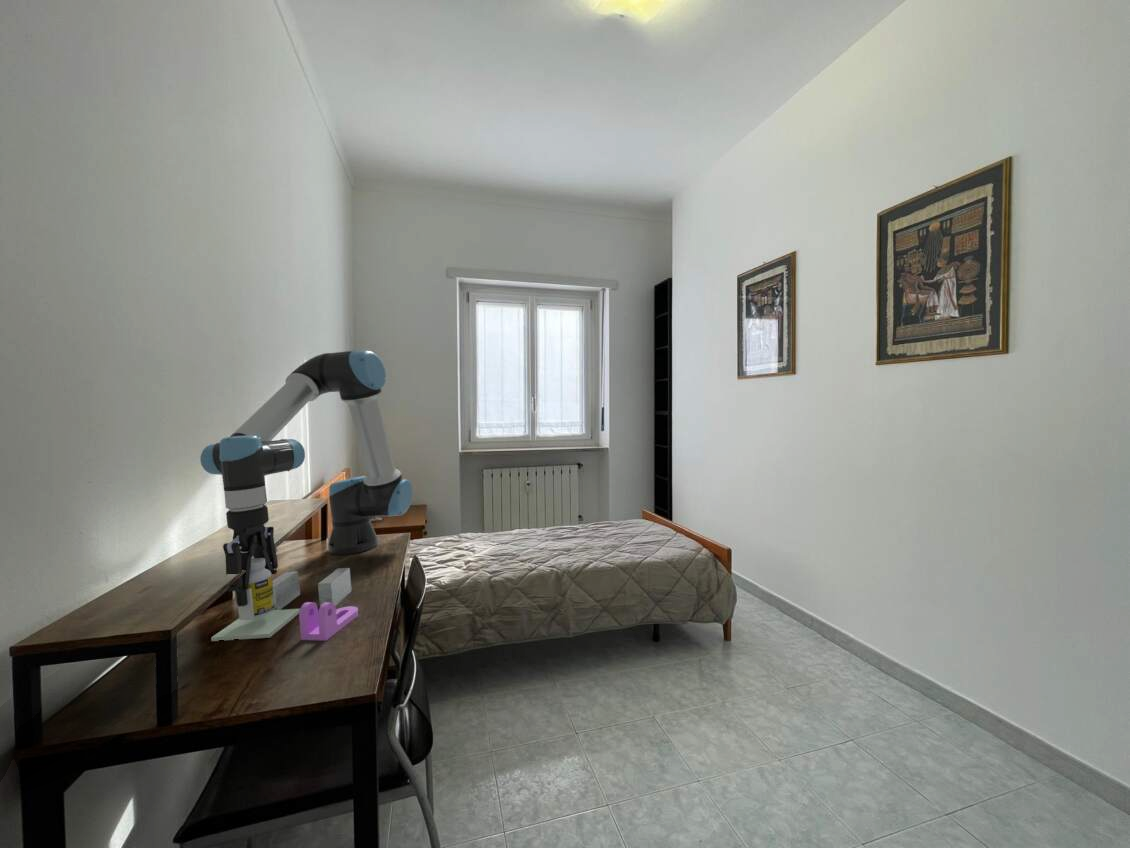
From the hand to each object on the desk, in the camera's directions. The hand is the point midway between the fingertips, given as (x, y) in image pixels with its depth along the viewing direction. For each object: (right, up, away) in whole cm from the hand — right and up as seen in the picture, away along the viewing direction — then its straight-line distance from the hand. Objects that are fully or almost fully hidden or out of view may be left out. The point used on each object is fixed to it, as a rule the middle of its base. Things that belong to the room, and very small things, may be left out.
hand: (257, 611), depth 107 cm
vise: (+3, -2, +12) cm, 13 cm away
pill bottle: (0, -1, 0) cm, 1 cm away
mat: (0, -3, 0) cm, 3 cm away
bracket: (+18, -3, -2) cm, 18 cm away
